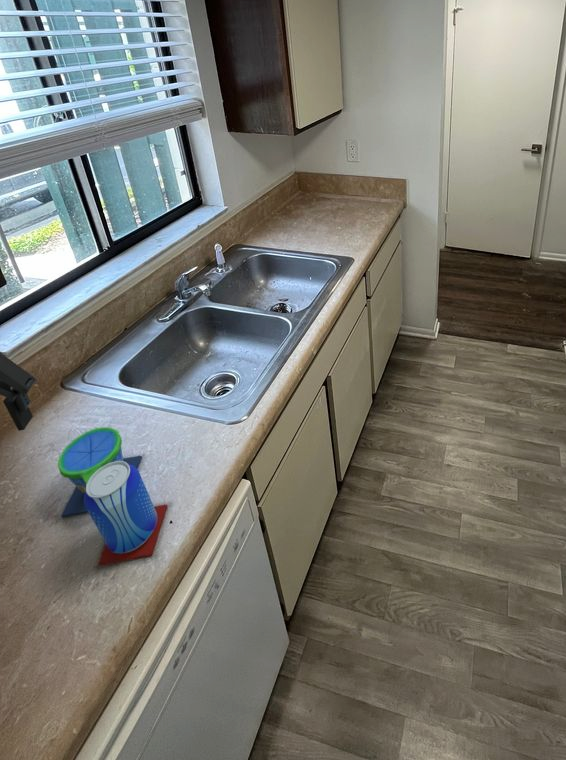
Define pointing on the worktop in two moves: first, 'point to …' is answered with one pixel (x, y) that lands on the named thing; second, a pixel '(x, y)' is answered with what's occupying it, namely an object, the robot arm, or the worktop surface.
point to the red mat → (141, 551)
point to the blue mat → (77, 498)
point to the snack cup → (90, 455)
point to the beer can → (120, 506)
